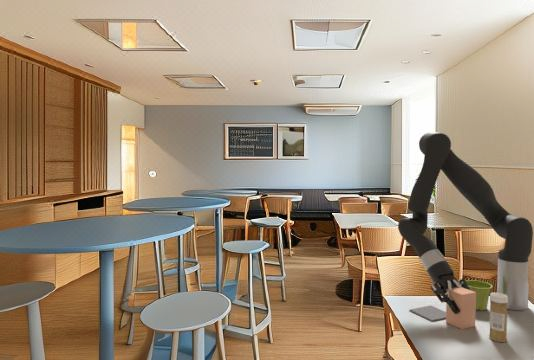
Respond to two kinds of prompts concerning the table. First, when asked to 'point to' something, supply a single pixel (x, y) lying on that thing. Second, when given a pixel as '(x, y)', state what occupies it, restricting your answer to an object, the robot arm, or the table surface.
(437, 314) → the gray mat
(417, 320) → the table surface
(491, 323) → the spice jar
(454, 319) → the tall peach pillar
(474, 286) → the plant pot
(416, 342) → the table surface
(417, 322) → the table surface
